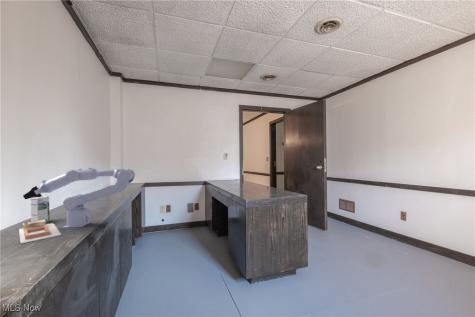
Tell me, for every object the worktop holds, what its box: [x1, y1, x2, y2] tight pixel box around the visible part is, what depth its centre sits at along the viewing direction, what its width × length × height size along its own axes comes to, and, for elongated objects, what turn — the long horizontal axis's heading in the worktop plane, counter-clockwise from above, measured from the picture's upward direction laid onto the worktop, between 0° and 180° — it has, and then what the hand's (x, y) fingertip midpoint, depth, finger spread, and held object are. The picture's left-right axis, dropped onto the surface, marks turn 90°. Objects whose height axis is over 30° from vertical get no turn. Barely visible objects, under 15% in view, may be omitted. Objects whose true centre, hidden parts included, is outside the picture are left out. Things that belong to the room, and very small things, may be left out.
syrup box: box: [30, 195, 51, 223], centre depth 117 cm, size 6×6×14 cm
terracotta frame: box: [24, 226, 50, 240], centre depth 98 cm, size 12×8×2 cm, turn 47°
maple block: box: [22, 220, 47, 231], centre depth 106 cm, size 8×4×3 cm, turn 137°
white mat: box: [18, 222, 62, 245], centre depth 101 cm, size 13×26×1 cm, turn 47°
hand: (29, 194), depth 108 cm, fingers open, 7 cm apart
